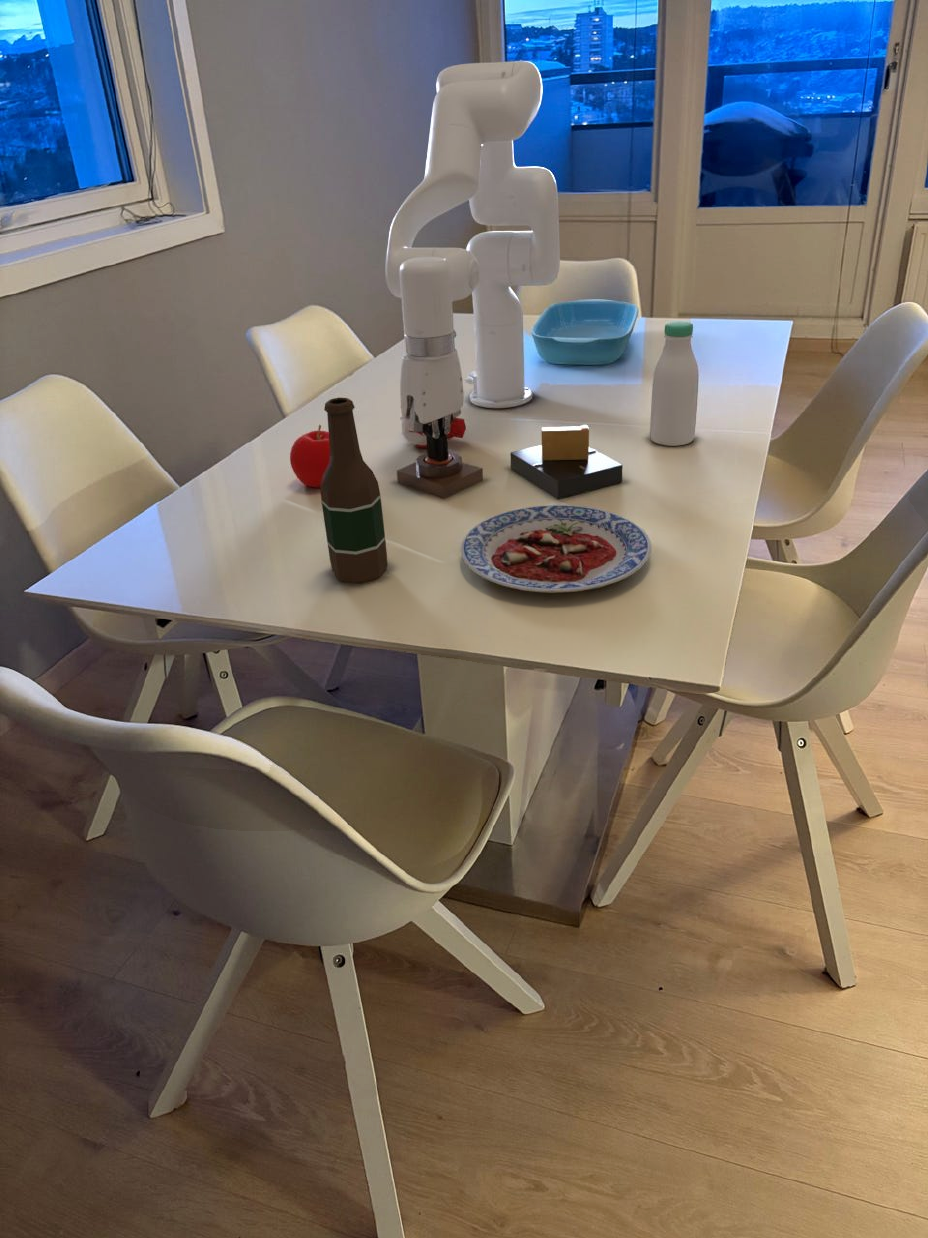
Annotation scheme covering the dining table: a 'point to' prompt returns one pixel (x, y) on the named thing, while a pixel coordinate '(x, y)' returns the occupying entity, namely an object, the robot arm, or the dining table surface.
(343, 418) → the beer bottle
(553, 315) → the casserole dish
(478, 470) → the button block
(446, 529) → the dining table surface
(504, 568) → the ceramic plate
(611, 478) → the plate
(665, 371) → the milk bottle
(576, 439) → the tap lever
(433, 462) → the button
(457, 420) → the white and red skull
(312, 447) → the fruit
